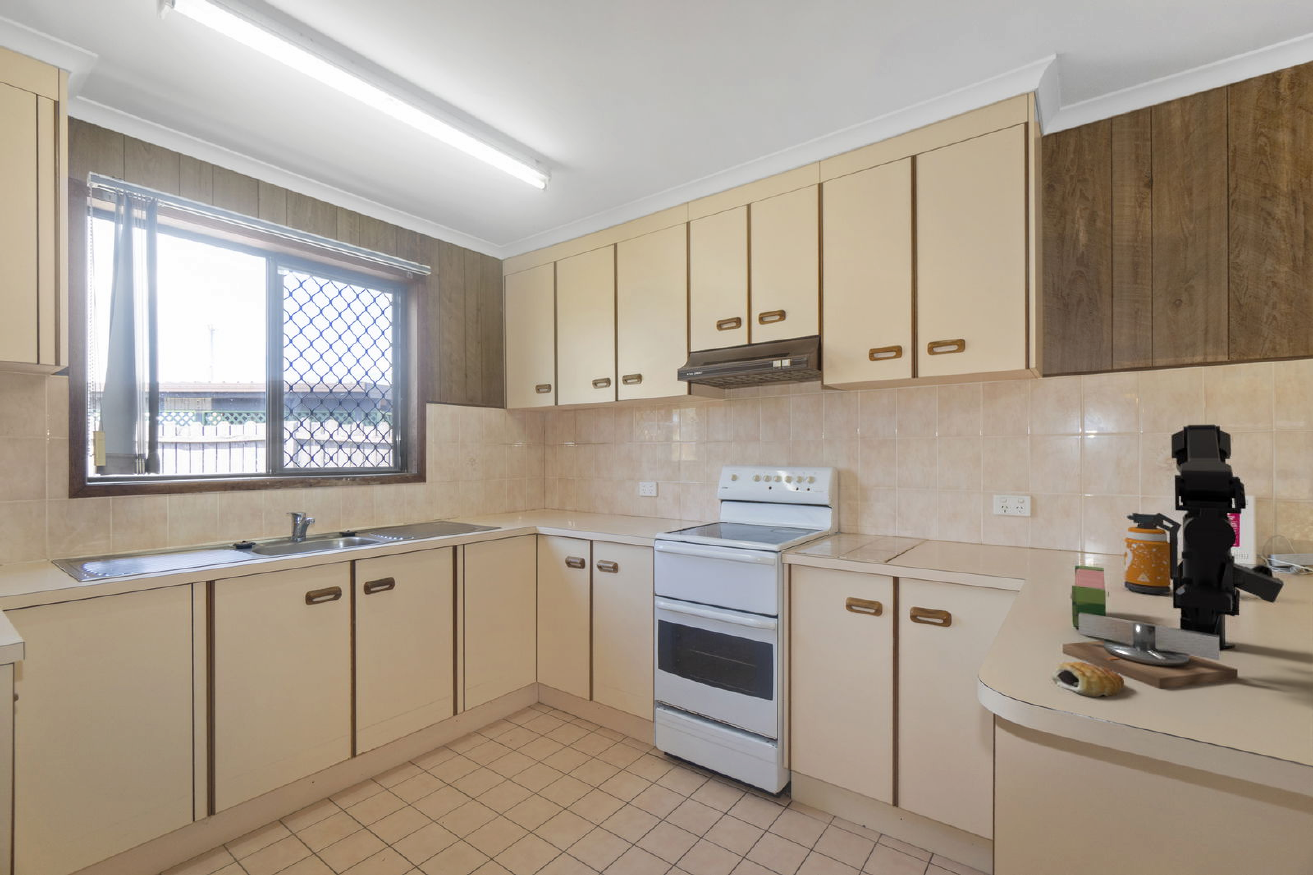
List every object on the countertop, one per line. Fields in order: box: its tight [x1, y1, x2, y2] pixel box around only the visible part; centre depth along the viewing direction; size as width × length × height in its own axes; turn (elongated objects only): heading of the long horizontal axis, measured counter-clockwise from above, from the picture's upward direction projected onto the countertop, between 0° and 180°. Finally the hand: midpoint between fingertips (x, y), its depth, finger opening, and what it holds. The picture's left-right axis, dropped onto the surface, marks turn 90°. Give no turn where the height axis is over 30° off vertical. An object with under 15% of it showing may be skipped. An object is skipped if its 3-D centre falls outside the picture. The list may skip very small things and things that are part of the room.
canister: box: [1123, 512, 1182, 596], centre depth 150 cm, size 9×11×20 cm
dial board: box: [1062, 639, 1239, 689], centre depth 99 cm, size 16×16×2 cm
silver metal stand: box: [1078, 612, 1221, 666], centre depth 99 cm, size 11×16×5 cm
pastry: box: [1050, 661, 1125, 698], centre depth 90 cm, size 9×7×4 cm
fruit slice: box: [1070, 565, 1110, 629], centre depth 122 cm, size 26×6×10 cm, turn 144°
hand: (1207, 644), depth 96 cm, fingers closed
